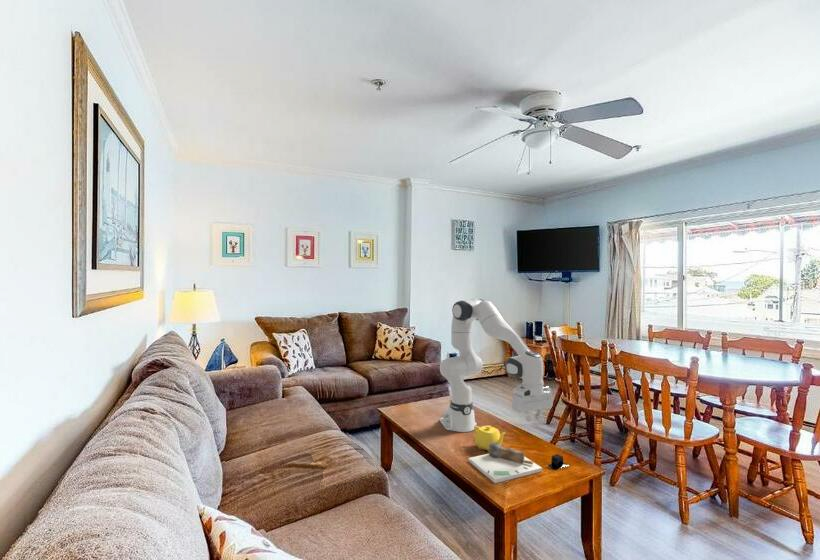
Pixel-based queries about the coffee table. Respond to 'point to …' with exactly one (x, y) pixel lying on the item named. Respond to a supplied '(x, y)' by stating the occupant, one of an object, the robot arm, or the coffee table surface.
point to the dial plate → (503, 467)
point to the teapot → (487, 436)
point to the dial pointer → (507, 453)
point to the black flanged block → (557, 462)
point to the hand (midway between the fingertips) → (532, 419)
